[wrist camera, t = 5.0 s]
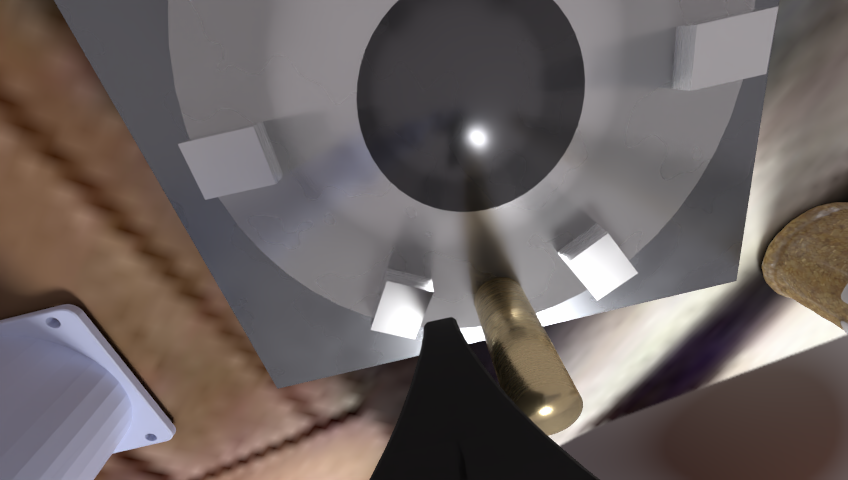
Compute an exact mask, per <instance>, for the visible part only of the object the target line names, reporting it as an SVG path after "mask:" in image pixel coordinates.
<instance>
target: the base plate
mask: <svg viewBox="0 0 848 480" xmlns="http://www.w3.org/2000/svg"><path fill="white" fill-rule="evenodd" d="M54 1H55V3H56V5H57V6H58V8H59V10H60V11H61V13H62V15H63V17H64V18H65V20H66V22H67V24H68V25H69V27H70V29H71V31H72V32H73V34H74V36H75V37H76V39H77V41H78V43H79V44H80V46H81V48H82V50H83V51H84V53H85V55H86V57H87V58H88V60H89V62H90V64H91V65H92V67H93V69H94V70H95V72H96V74H97V76H98V77H99V79H100V81H101V83H102V84H103V86H104V88H105V90H106V91H107V93H108V95H109V97H110V98H111V100H112V102H113V103H114V105H115V107H116V109H117V110H118V112H119V114H120V116H121V117H122V119H123V121H124V123H125V124H126V126H127V128H128V130H129V131H130V133H131V135H132V136H133V138H134V140H135V142H136V143H137V145H138V147H139V149H140V150H141V152H142V154H143V156H144V157H145V159H146V161H147V163H148V164H149V166H150V168H151V169H152V171H153V173H154V175H155V176H156V178H157V180H158V182H159V183H160V185H161V187H162V189H163V190H164V192H165V194H166V196H167V197H168V199H169V201H170V202H171V204H172V206H173V208H174V209H175V211H176V213H177V215H178V216H179V218H180V220H181V222H182V223H183V225H184V227H185V229H186V230H187V232H188V234H189V235H190V237H191V239H192V241H193V242H194V244H195V246H196V248H197V249H198V251H199V253H200V255H201V256H202V258H203V260H204V262H205V263H206V265H207V267H208V268H209V270H210V272H211V274H212V275H213V277H214V279H215V281H216V282H217V284H218V286H219V288H220V289H221V291H222V293H223V294H224V296H225V298H226V300H227V301H228V303H229V305H230V307H231V308H232V310H233V312H234V314H235V315H236V317H237V319H238V321H239V322H240V324H241V326H242V327H243V329H244V331H245V333H246V334H247V336H248V338H249V340H250V341H251V343H252V345H253V347H254V348H255V350H256V352H257V354H258V355H259V357H260V359H261V360H262V362H263V364H264V366H265V367H266V369H267V371H268V373H269V374H270V376H271V378H272V380H273V381H274V383H275V385H276V387H277V388H282V387H286V386H291V385H295V384H299V383H303V382H308V381H312V380H316V379H320V378H325V377H329V376H333V375H337V374H342V373H346V372H350V371H355V370H359V369H363V368H367V367H372V366H376V365H380V364H384V363H389V362H393V361H397V360H401V359H406V358H410V357H414V356H418V355H419V354H420V350H421V345H422V340H423V332H424V327H420V328H419V330H418V333H417V335H416V338H415V339H411V338H406V337H401V336H397V335H392V334H387V333H382V332H378V331H373V330H371V318H372V317H369V316H366V315H363V314H360V313H358V312H355V311H353V310H350V309H348V308H345V307H343V306H340V305H338V304H336V303H334V302H332V301H330V300H328V299H327V298H325V297H323V296H321V295H319V294H317V293H315V292H314V291H312V290H310V289H309V288H307V287H306V286H304V285H303V284H301V283H300V282H299V281H297V280H296V279H294V278H293V277H291V276H290V275H288V274H287V273H286V272H285V271H283V270H282V269H281V268H280V267H279V266H278V265H277V264H275V263H274V262H273V261H272V260H271V259H270V258H268V257H267V256H266V255H265V254H264V253H263V252H262V251H261V250H260V249H259V248H258V247H257V246H256V245H255V244H254V242H253V241H252V240H251V239H250V238H249V237H248V236H247V235H246V234H245V233H244V231H243V230H242V229H241V228H240V227H239V226H238V224H237V223H236V221H235V220H234V219H233V217H232V216H231V215H230V213H229V212H228V210H227V209H226V208H225V206H224V205H223V203H222V202H221V201H220V199H219V198H218V197H216V198H211V199H207V200H205V198H204V196H203V194H202V192H201V190H200V188H199V186H198V184H197V182H196V180H195V178H194V176H193V174H192V172H191V170H190V168H189V166H188V164H187V162H186V160H185V158H184V156H183V154H182V152H181V150H180V148H179V146H178V144H179V143H181V142H183V141H186V140H188V139H190V138H189V135H188V133H187V130H186V127H185V123H184V120H183V116H182V112H181V109H180V105H179V101H178V98H177V94H176V90H175V85H174V78H173V71H172V64H171V57H170V50H169V28H168V0H54ZM778 5H779V0H755V7H754V9H760V8H768V7H777V6H778ZM776 18H777V17H776ZM775 25H776V23H775ZM774 31H775V28H774ZM773 38H774V34H773ZM772 44H773V40H772ZM771 51H772V45H771ZM771 51H770V56H769V62H768V67H767V73H766V74H764V75H759V76H755V77H750V78H746V79H743V81H742V84H741V87H740V90H739V93H738V96H737V99H736V102H735V106H734V109H733V112H732V115H731V118H730V120H729V122H728V124H727V127H726V129H725V131H724V133H723V136H722V138H721V140H720V142H719V145H718V147H717V149H716V151H715V153H714V155H713V157H712V158H711V160H710V162H709V164H708V165H707V167H706V169H705V171H704V172H703V174H702V176H701V178H700V179H699V181H698V183H697V184H696V186H695V187H694V188H693V190H692V191H691V193H690V194H689V195H688V197H687V198H686V200H685V201H684V202H683V204H682V205H681V207H680V208H679V209H678V211H677V212H676V213H675V214H674V215H673V217H672V218H671V219H670V220H669V221H668V222H667V223H666V225H665V226H664V227H663V228H662V229H661V230H660V231H659V233H658V234H657V235H656V236H655V237H654V238H653V239H652V240H651V241H650V242H649V243H648V244H646V245H645V246H644V247H643V248H642V249H641V250H640V251H639V252H638V253H637V254H636V255H635V256H634V257H633V258H631V259H630V260H629V262H630V263H631V264H632V266H633V267H634V268H635V270H636V271H637V272H638V274H636V275H635V276H633V277H632V278H630V279H629V280H627V281H626V282H624V283H623V284H621V285H620V286H618V287H617V288H616V289H614V290H613V291H611V292H610V293H608V294H607V295H605V296H604V297H602V298H601V299H599V300H598V301H597V300H596V298H595V297H594V296H593V295H592V294H591V293H590V291H589V290H588V289H587V290H586V291H584V292H583V293H581V294H579V295H577V296H575V297H573V298H571V299H569V300H567V301H564V302H562V303H560V304H558V305H556V306H554V307H551V308H549V309H546V310H543V311H541V312H538V313H536V315H537V317H538V319H539V320H540V322H541V324H542V326H546V325H550V324H555V323H559V322H563V321H567V320H572V319H576V318H580V317H584V316H589V315H593V314H597V313H601V312H606V311H610V310H614V309H619V308H623V307H627V306H631V305H636V304H640V303H644V302H648V301H653V300H657V299H661V298H665V297H670V296H674V295H678V294H682V293H687V292H691V291H695V290H699V289H704V288H708V287H712V286H716V285H721V284H725V283H729V282H733V281H736V279H737V273H738V266H739V260H740V253H741V247H742V240H743V234H744V227H745V221H746V214H747V208H748V201H749V195H750V188H751V181H752V175H753V168H754V162H755V155H756V149H757V142H758V136H759V129H760V123H761V116H762V110H763V103H764V97H765V90H766V84H767V77H768V70H769V64H770V57H771ZM460 330H461V332H462V334H463V336H464V338H465V339H466V341H467V343H468V344H469V343H474V342H478V341H482V340H485V337H484V334H483V330H482V327H481V326H479V327H470V328H460Z"/></svg>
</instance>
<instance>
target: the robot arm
mask: <svg viewBox="0 0 848 480" xmlns="http://www.w3.org/2000/svg"><path fill="white" fill-rule="evenodd" d="M55 318H56V319H55ZM58 320H59V321H58ZM175 432H176V428H175V426H174V425H173V423H172V422H171V421H170V420H169V418H168V417H167V416H166V415H165V413H164V412H163V411H162V409H161V408H160V407H159V406H158V404H157V403H156V402H155V401H154V399H153V398H152V397H151V396H150V394H149V393H148V392H147V391H146V389H145V388H144V387H143V386H142V384H141V383H140V382H139V381H138V379H137V378H136V377H135V376H134V374H133V373H132V372H131V370H130V369H129V368H128V367H127V365H126V364H125V363H124V362H123V360H122V359H121V358H120V357H119V355H118V354H117V353H116V352H115V350H114V349H113V348H112V347H111V345H110V344H109V343H108V342H107V340H106V339H105V338H104V337H103V335H102V334H101V333H100V331H99V330H98V329H97V328H96V326H95V325H94V324H93V323H92V321H91V320H90V319H89V318H88V316H87V315H86V314H85V313H84V311H83V310H82V309H80V308H79V307H77V306H75V305H71V304H63V305H59V306H55V307H51V308H47V309H43V310H39V311H35V312H31V313H27V314H23V315H19V316H15V317H11V318H7V319H3V320H0V480H94V479H95V477H96V476H97V474H98V473H99V471H100V470H101V469H102V467H103V466H104V464H105V463H106V461H107V460H108V459H109V457H110V456H111V454H112V453H117V452H121V451H125V450H130V449H134V448H138V447H143V446H147V445H151V444H156V443H160V442H164V441H168V440H170V439H171V438H172V437H173V435H174V434H175ZM370 480H600V479H598V478H597V477H596V476H594V475H593V474H592V473H591V472H589V471H588V470H587V469H586V468H584V467H583V466H582V465H581V464H580V463H579V462H577V461H576V460H575V459H574V458H573V457H571V456H570V455H569V454H568V453H567V452H566V451H564V450H563V449H562V448H561V447H560V446H559V445H557V444H556V443H555V442H554V441H553V440H552V439H551V438H549V437H548V436H547V435H546V434H545V433H544V432H543V431H542V430H541V429H540V428H539V427H538V426H537V425H536V424H535V423H534V422H533V421H532V420H531V419H530V418H529V417H528V416H527V415H526V414H525V413H524V412H523V411H522V410H521V409H520V408H519V407H518V406H517V405H516V404H515V403H514V402H513V401H512V400H511V399H510V397H509V396H508V395H507V394H506V393H505V392H504V391H503V389H502V388H501V387H500V386H499V385H498V384H497V382H496V381H495V380H494V379H493V377H492V376H491V375H490V374H489V372H488V371H487V370H486V368H485V367H484V366H483V364H482V363H481V362H480V360H479V359H478V358H477V356H476V355H475V353H474V352H473V350H472V349H471V347H470V346H469V344H468V343H467V341H466V339H465V338H464V336H463V334H462V332H461V330H460V328H459V326H458V324H457V321H456V319H454V318H453V317H449V318H444V319H439V320H435V321H430V322H427V323H426V324H425V325H424V332H423V340H422V345H421V350H420V354H419V358H418V362H417V366H416V369H415V373H414V376H413V380H412V383H411V386H410V389H409V392H408V395H407V397H406V400H405V403H404V406H403V409H402V411H401V414H400V416H399V419H398V421H397V424H396V426H395V428H394V431H393V433H392V435H391V437H390V440H389V442H388V444H387V446H386V448H385V450H384V452H383V454H382V456H381V458H380V460H379V462H378V464H377V466H376V468H375V470H374V472H373V474H372V476H371V478H370Z"/></svg>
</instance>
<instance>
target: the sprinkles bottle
mask: <svg viewBox="0 0 848 480" xmlns="http://www.w3.org/2000/svg"><path fill="white" fill-rule="evenodd" d="M762 271H763V277H764V279H765V281H766V282H767V284H769V285H770V287H771V288H772V289H773V290H774V291H775V292H777V293H778V294H781V295H783V296H786V297H789V298H792V299H794V300H796V301H797V302H799V303H800V304H802V305H803V306H805V307H807V308H809V309H811V310H812V311H814V312H815V313H817V314H818V315H820V316H821V317H823V318H825V319H827V320H829V321H831V322H832V323H834V324H835V325H837V326H838V327H840V328H841V329H843V330H844V331H845V332H846V333H847V334H848V203H846V202H845V203H841V202H834V203H831V204H824V205H820V206H817V207H814V208H812V209H810V210H808V211H806V212H805V213H803V214H801V215H800V216H798V217H797V218H795V219H794V220H792V221H791V222H790V223H789V224H787V225H786V226H785V227H784V228H783V229H782V230H781V231H780V232H779V233H778V234H777V235H776V236H775V238H774V239H773V240H772V242H771V243H770V244H769V246H768V248H767V251H766V254H765V257H764V260H763V263H762Z"/></svg>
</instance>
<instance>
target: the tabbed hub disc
mask: <svg viewBox="0 0 848 480" xmlns="http://www.w3.org/2000/svg"><path fill="white" fill-rule="evenodd" d="M754 7H755V0H168V28H169V50H170V57H171V64H172V71H173V78H174V85H175V90H176V94H177V98H178V101H179V105H180V109H181V112H182V116H183V120H184V123H185V127H186V130H187V133H188V135H189V138H190V139H188V140H186V141H183V142H181V143H179V144H178V146H179V148H180V150H181V152H182V154H183V156H184V158H185V160H186V162H187V164H188V166H189V168H190V170H191V172H192V174H193V176H194V178H195V180H196V182H197V184H198V186H199V188H200V190H201V192H202V194H203V196H204V198H205V200H207V199H211V198H216V197H218V198H219V199H220V201H221V202H222V203H223V205H224V206H225V208H226V209H227V210H228V212H229V213H230V215H231V216H232V217H233V219H234V220H235V221H236V223H237V224H238V226H239V227H240V228H241V229H242V230H243V231H244V233H245V234H246V235H247V236H248V237H249V238H250V239H251V240H252V241H253V242H254V244H255V245H256V246H257V247H258V248H259V249H260V250H261V251H262V252H263V253H264V254H265V255H266V256H267V257H268V258H270V259H271V260H272V261H273V262H274V263H275V264H277V265H278V266H279V267H280V268H281V269H282V270H283V271H285V272H286V273H287V274H288V275H290V276H291V277H293V278H294V279H296V280H297V281H299V282H300V283H301V284H303V285H304V286H306V287H307V288H309V289H310V290H312V291H314V292H315V293H317V294H319V295H321V296H323V297H325V298H327V299H328V300H330V301H332V302H334V303H336V304H338V305H340V306H343V307H345V308H348V309H350V310H353V311H355V312H358V313H360V314H363V315H366V316H369V317H372V318H371V330H373V331H378V332H382V333H387V334H392V335H397V336H401V337H406V338H411V339H415V338H416V335H417V333H418V330H419V328H420V327H424V325H425V324H426V323H427V322H430V321H435V320H439V319H444V318H449V317H453V318H454V319H456V321H457V324H458V326H459V328H470V327H479V326H481V327H482V330H483V334H484V337H485V340H486V343H487V346H488V349H489V352H490V356H491V359H492V362H493V365H494V368H495V371H496V374H497V378H498V381H499V384H500V387H501V388H502V389H503V391H504V392H505V393H506V394H507V395H508V396H509V397H510V399H511V400H512V401H513V402H514V403H515V404H516V405H517V406H518V407H519V408H520V409H521V410H522V411H523V412H524V413H525V414H526V415H527V416H528V417H529V418H530V419H531V420H532V421H533V422H534V423H535V424H536V425H537V426H538V427H539V428H540V429H541V430H542V431H543V432H544V433H545V434H546V435H552V434H555V433H558V432H560V431H563V430H564V429H566V428H568V427H569V426H571V425H572V424H573V423H574V422H575V421H576V420H577V419H578V417H579V416H580V414H581V412H582V408H583V401H582V398H581V396H580V394H579V392H578V390H577V389H576V387H575V385H574V383H573V381H572V379H571V378H570V376H569V374H568V372H567V370H566V368H565V366H564V365H563V363H562V361H561V359H560V357H559V355H558V354H557V352H556V350H555V348H554V346H553V344H552V342H551V341H550V339H549V337H548V335H547V333H546V331H545V330H544V328H543V326H542V324H541V322H540V320H539V319H538V317H537V315H536V313H538V312H541V311H543V310H546V309H549V308H551V307H554V306H556V305H558V304H560V303H562V302H564V301H567V300H569V299H571V298H573V297H575V296H577V295H579V294H581V293H583V292H584V291H586V290H587V289H588V290H589V291H590V293H591V294H592V295H593V296H594V297H595V298H596V300H597V301H598V300H599V299H601V298H602V297H604V296H605V295H607V294H608V293H610V292H611V291H613V290H614V289H616V288H617V287H618V286H620V285H621V284H623V283H624V282H626V281H627V280H629V279H630V278H632V277H633V276H635V275H636V274H638V272H637V271H636V270H635V268H634V267H633V266H632V264H631V263H630V262H629V260H630V259H631V258H633V257H634V256H635V255H636V254H637V253H638V252H639V251H640V250H641V249H642V248H643V247H644V246H645V245H646V244H648V243H649V242H650V241H651V240H652V239H653V238H654V237H655V236H656V235H657V234H658V233H659V231H660V230H661V229H662V228H663V227H664V226H665V225H666V223H667V222H668V221H669V220H670V219H671V218H672V217H673V215H674V214H675V213H676V212H677V211H678V209H679V208H680V207H681V205H682V204H683V202H684V201H685V200H686V198H687V197H688V195H689V194H690V193H691V191H692V190H693V188H694V187H695V186H696V184H697V183H698V181H699V179H700V178H701V176H702V174H703V172H704V171H705V169H706V167H707V165H708V164H709V162H710V160H711V158H712V157H713V155H714V153H715V151H716V149H717V147H718V145H719V142H720V140H721V138H722V136H723V133H724V131H725V129H726V127H727V124H728V122H729V120H730V118H731V115H732V112H733V109H734V106H735V102H736V99H737V96H738V93H739V90H740V87H741V84H742V81H743V79H746V78H750V77H755V76H759V75H764V74H766V73H767V67H768V62H769V56H770V51H771V45H772V40H773V34H774V28H775V23H776V17H777V12H778V6H777V7H768V8H760V9H754Z"/></svg>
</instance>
